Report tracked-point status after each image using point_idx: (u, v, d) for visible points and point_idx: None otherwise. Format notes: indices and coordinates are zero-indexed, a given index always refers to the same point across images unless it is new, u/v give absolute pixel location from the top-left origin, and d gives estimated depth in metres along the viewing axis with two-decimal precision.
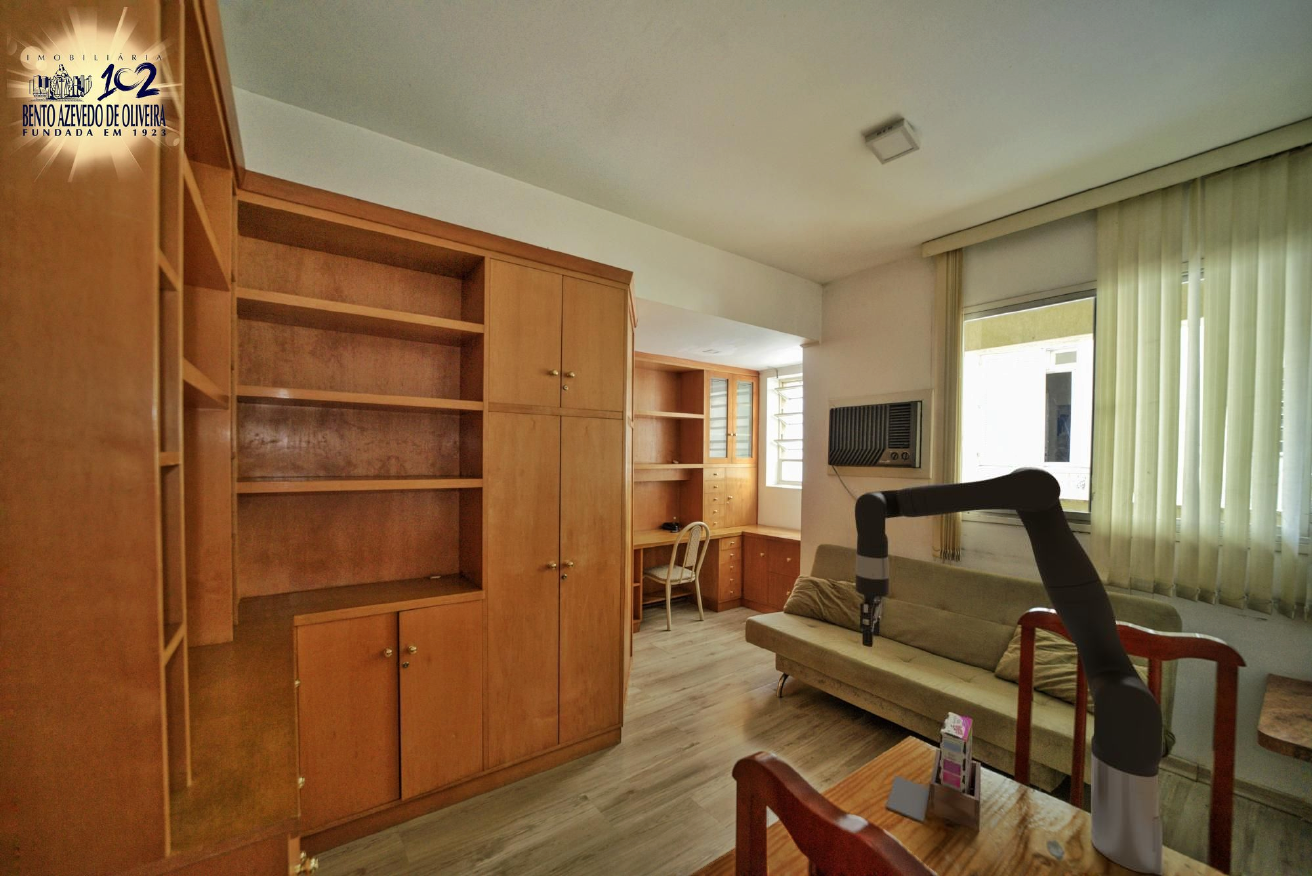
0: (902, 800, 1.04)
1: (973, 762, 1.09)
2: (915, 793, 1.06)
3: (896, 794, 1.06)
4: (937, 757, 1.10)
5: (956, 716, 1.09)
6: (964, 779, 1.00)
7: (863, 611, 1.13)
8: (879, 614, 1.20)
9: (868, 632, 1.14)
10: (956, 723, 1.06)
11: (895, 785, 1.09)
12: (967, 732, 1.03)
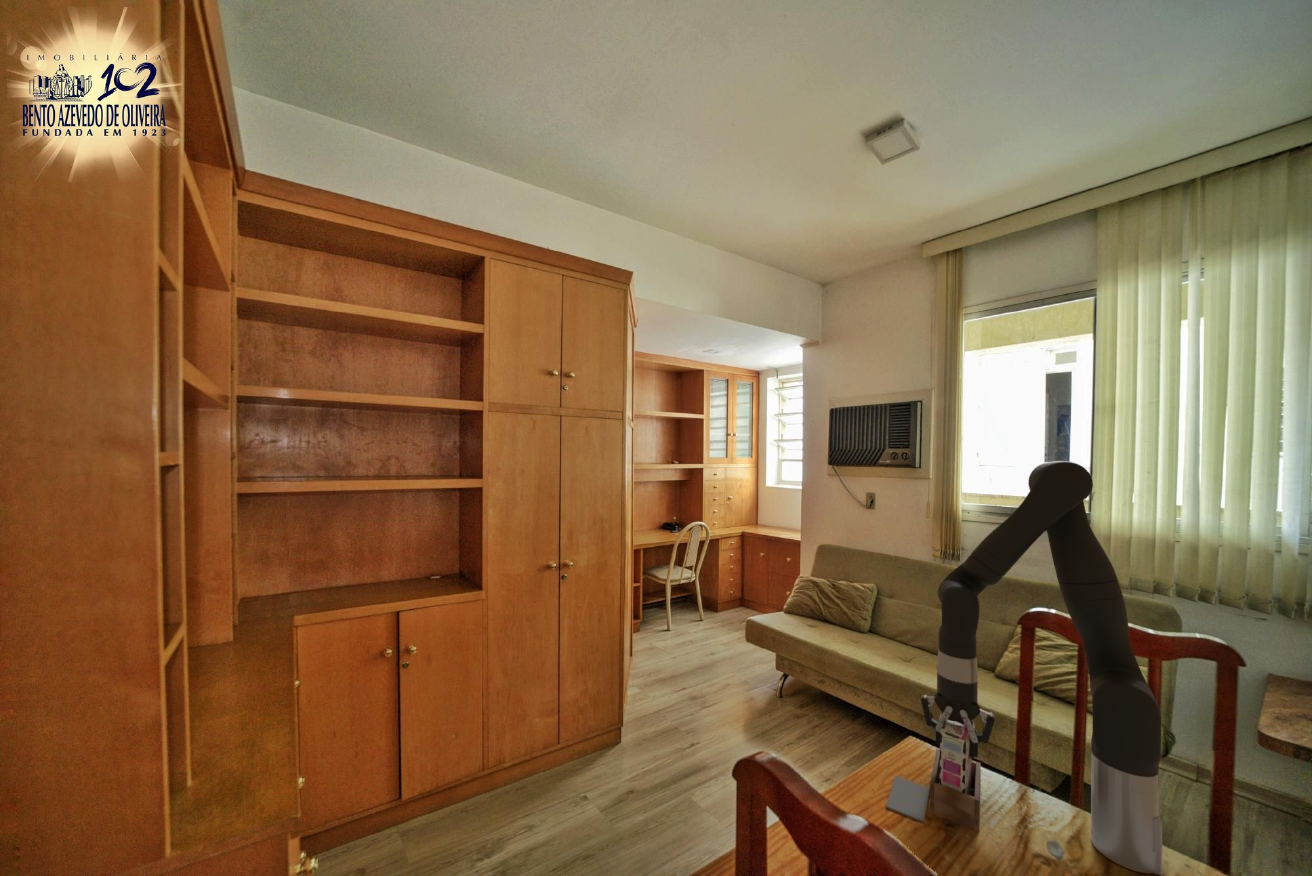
0: (902, 800, 1.04)
1: (973, 762, 1.09)
2: (915, 793, 1.06)
3: (896, 794, 1.06)
4: (937, 757, 1.10)
5: None
6: (964, 779, 1.00)
7: None
8: None
9: None
10: (956, 723, 1.06)
11: (895, 785, 1.09)
12: (967, 732, 1.03)
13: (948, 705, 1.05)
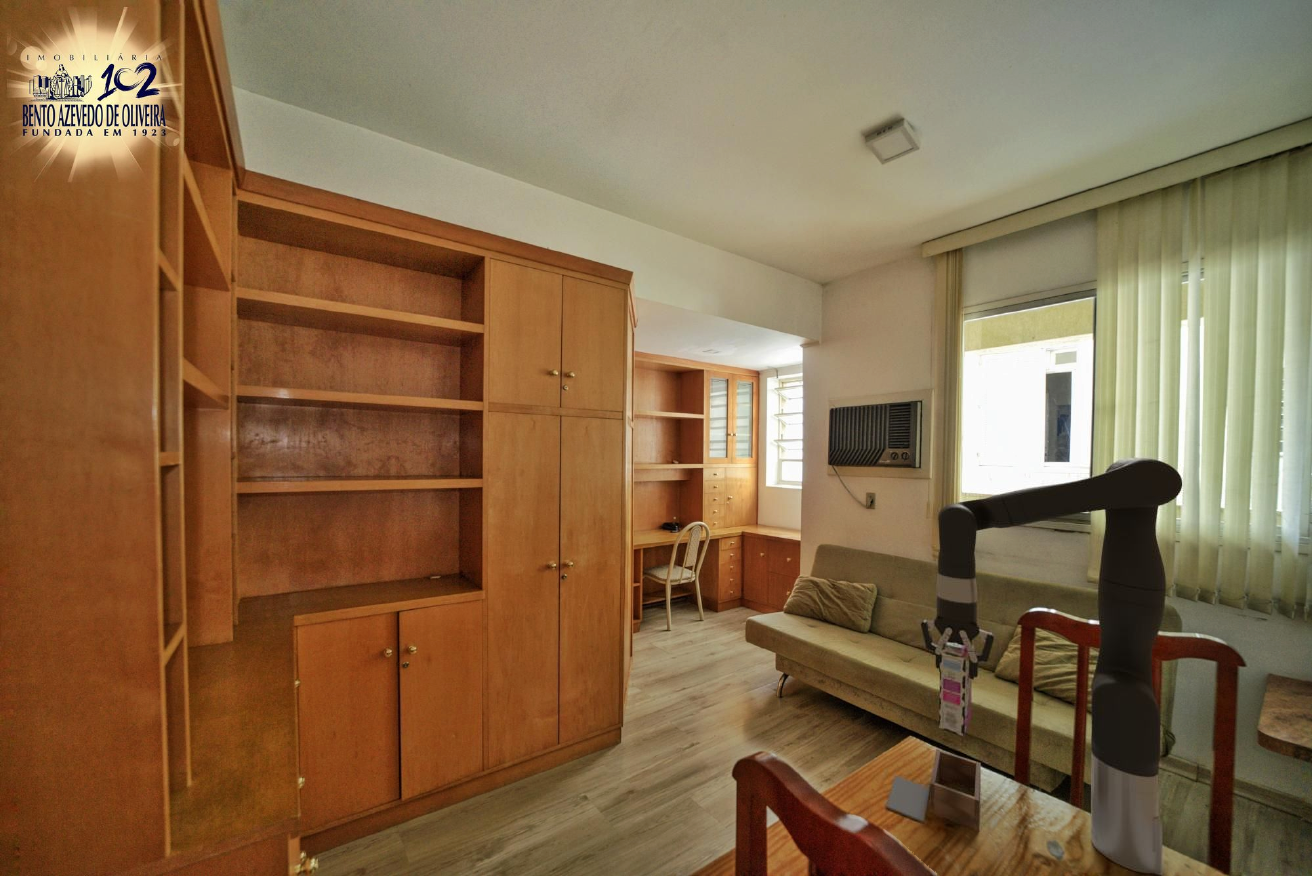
0: (902, 800, 1.04)
1: (973, 762, 1.09)
2: (915, 793, 1.06)
3: (896, 794, 1.06)
4: (937, 757, 1.10)
5: None
6: (964, 696, 1.00)
7: None
8: None
9: (977, 661, 1.04)
10: (956, 645, 1.06)
11: (895, 785, 1.09)
12: (967, 652, 1.03)
13: (948, 627, 1.05)
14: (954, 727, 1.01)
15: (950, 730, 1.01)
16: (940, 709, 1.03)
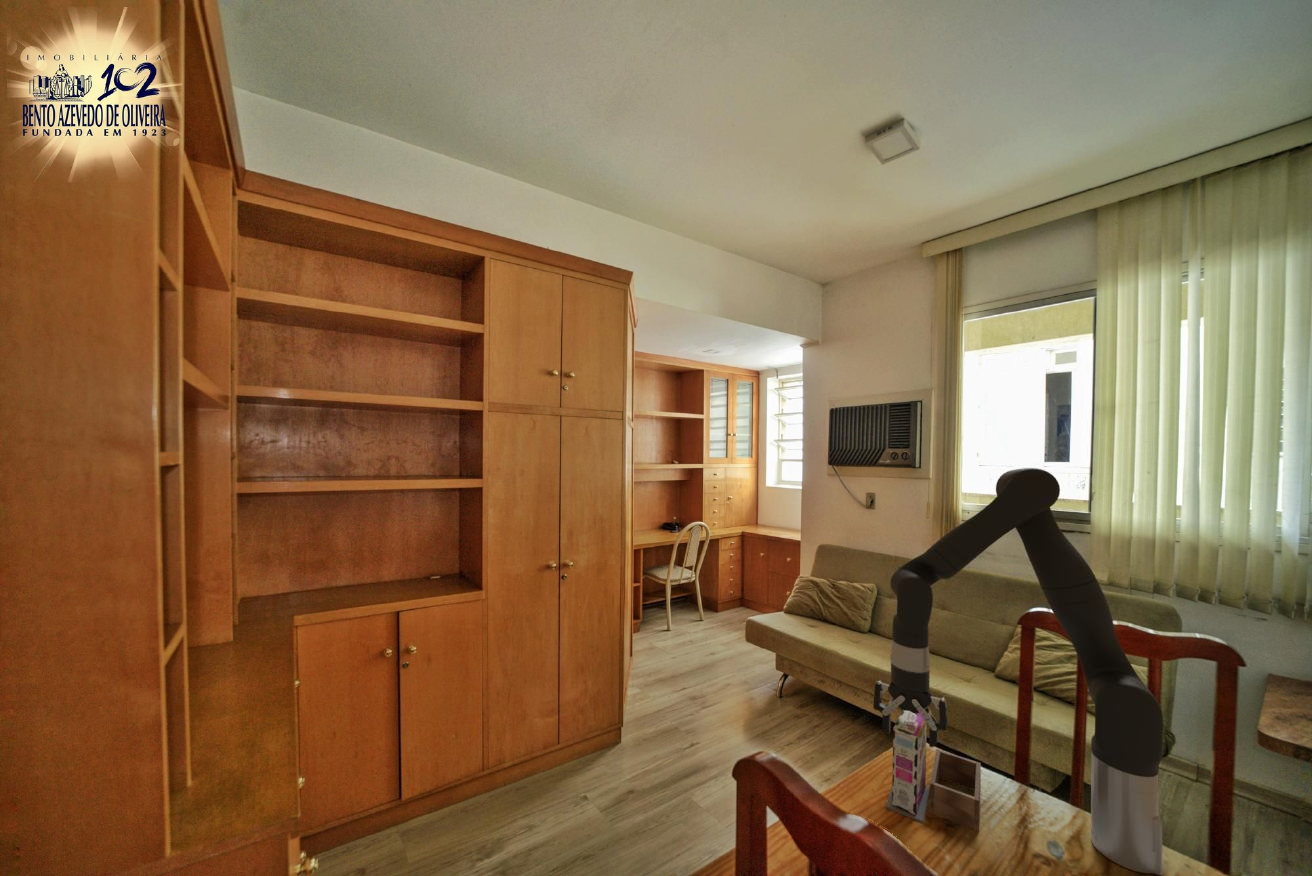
0: None
1: (973, 762, 1.09)
2: None
3: None
4: (937, 757, 1.10)
5: (911, 712, 1.09)
6: (916, 775, 1.00)
7: (945, 709, 1.01)
8: None
9: None
10: (910, 719, 1.06)
11: None
12: (920, 728, 1.03)
13: (902, 695, 1.05)
14: (906, 805, 1.01)
15: (902, 808, 1.01)
16: (893, 786, 1.02)
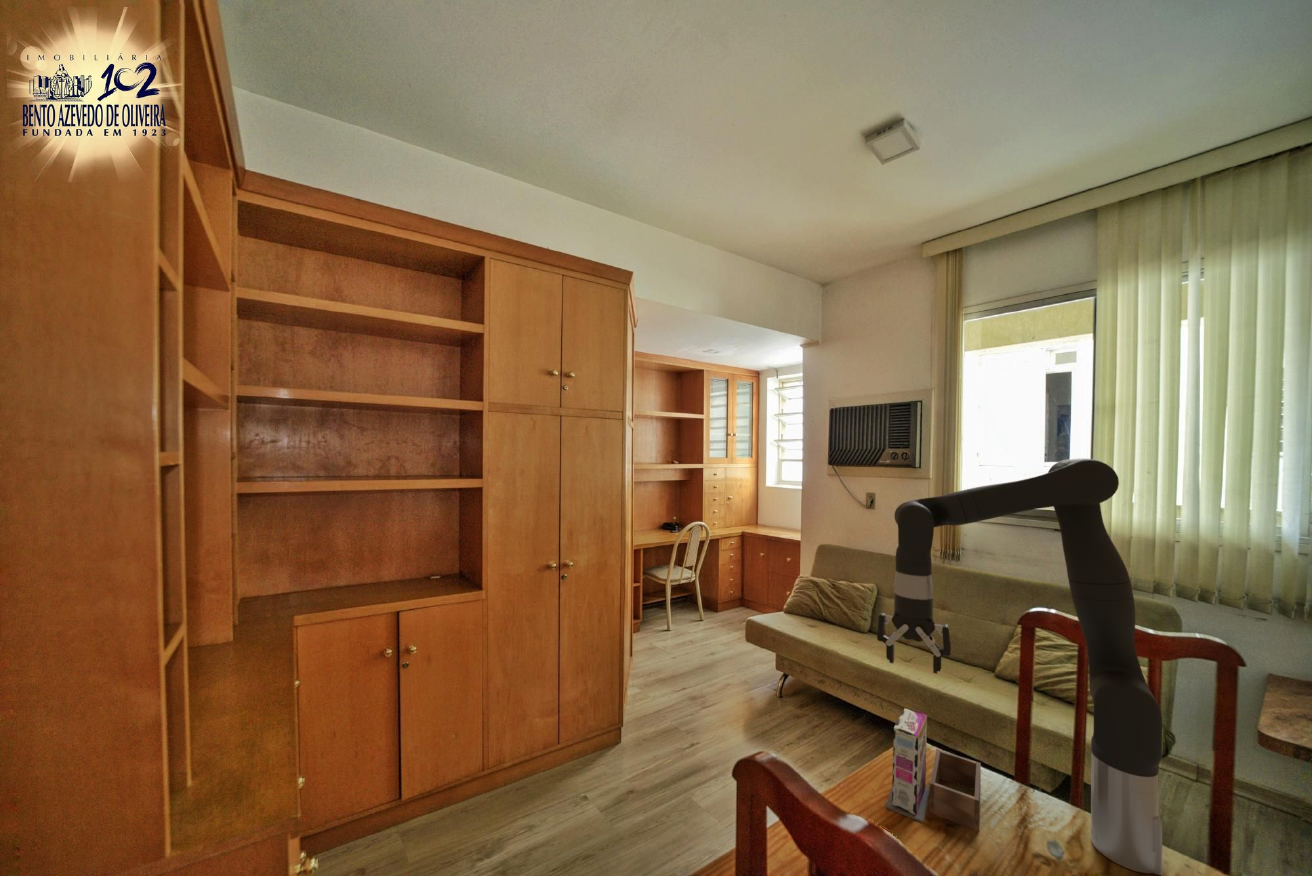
0: None
1: (973, 762, 1.09)
2: None
3: None
4: (937, 757, 1.10)
5: (911, 712, 1.09)
6: (916, 775, 1.00)
7: (949, 634, 1.02)
8: None
9: None
10: (910, 719, 1.06)
11: None
12: (920, 728, 1.03)
13: (906, 624, 1.06)
14: (906, 805, 1.01)
15: (902, 808, 1.01)
16: (893, 786, 1.02)
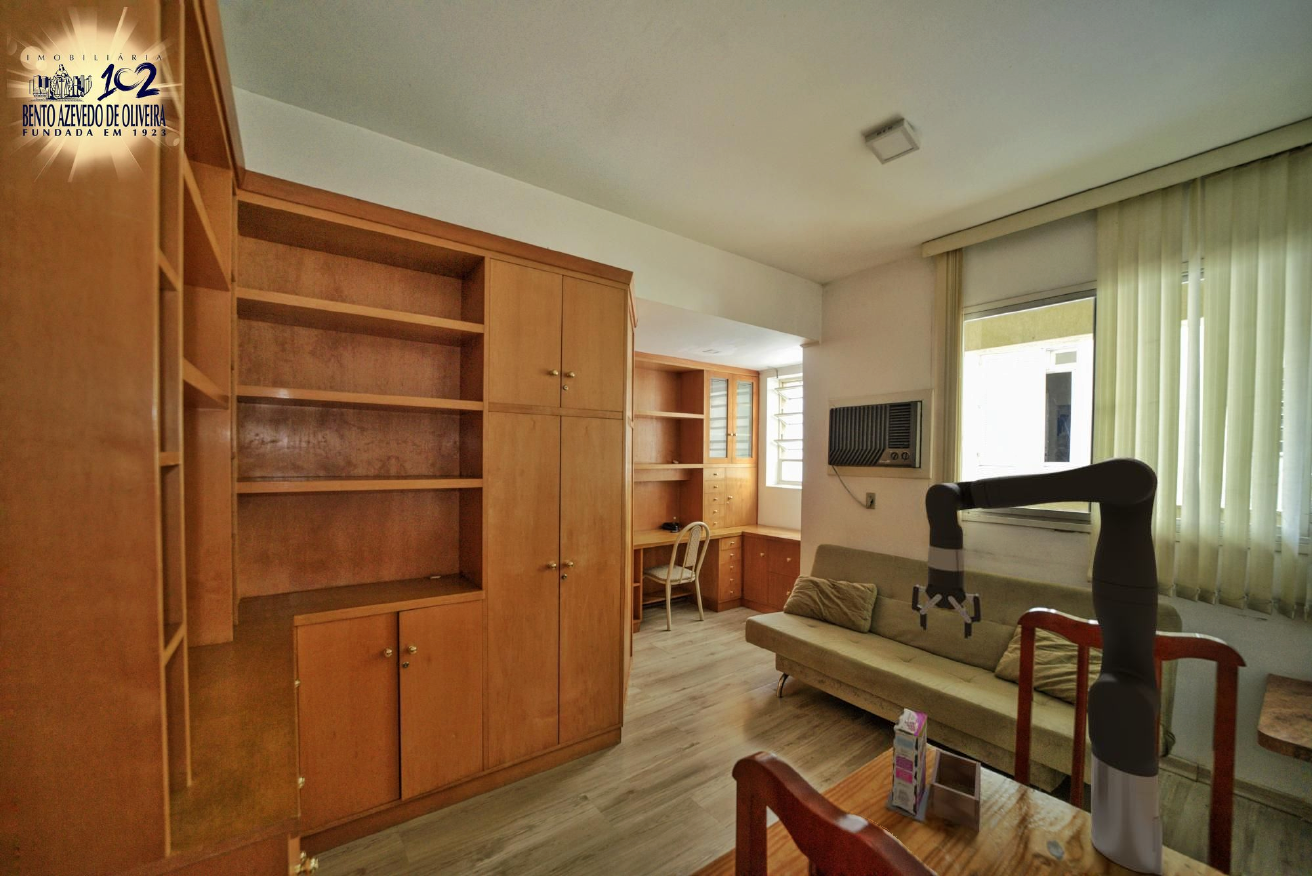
0: None
1: (973, 762, 1.09)
2: None
3: None
4: (937, 757, 1.10)
5: (911, 712, 1.09)
6: (916, 775, 1.00)
7: (979, 603, 1.12)
8: None
9: (971, 622, 1.14)
10: (910, 719, 1.06)
11: None
12: (920, 728, 1.03)
13: (939, 593, 1.16)
14: (906, 805, 1.01)
15: (902, 808, 1.01)
16: (893, 786, 1.02)
